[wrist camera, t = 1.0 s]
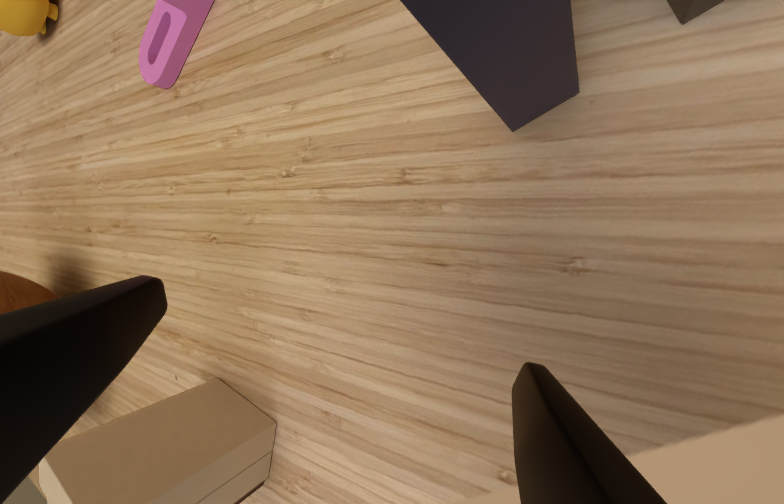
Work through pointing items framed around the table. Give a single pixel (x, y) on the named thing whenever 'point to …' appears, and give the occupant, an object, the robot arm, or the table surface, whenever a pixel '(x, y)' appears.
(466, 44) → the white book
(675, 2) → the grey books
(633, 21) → the table surface
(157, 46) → the bracket
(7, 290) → the bowl
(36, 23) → the teapot
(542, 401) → the robot arm
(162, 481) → the tan rectangular block
